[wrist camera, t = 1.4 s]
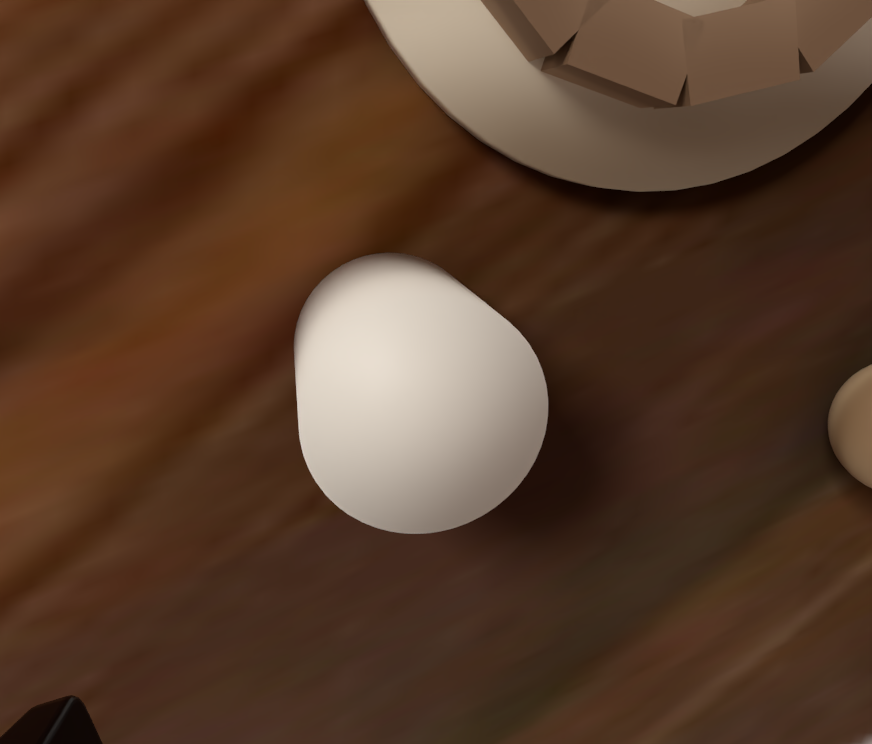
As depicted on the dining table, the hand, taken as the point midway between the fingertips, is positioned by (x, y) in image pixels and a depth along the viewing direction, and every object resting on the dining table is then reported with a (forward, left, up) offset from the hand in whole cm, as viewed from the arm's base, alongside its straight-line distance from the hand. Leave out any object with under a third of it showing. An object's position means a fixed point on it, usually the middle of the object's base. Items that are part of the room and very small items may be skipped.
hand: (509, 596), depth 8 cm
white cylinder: (0, 0, -10) cm, 10 cm away
